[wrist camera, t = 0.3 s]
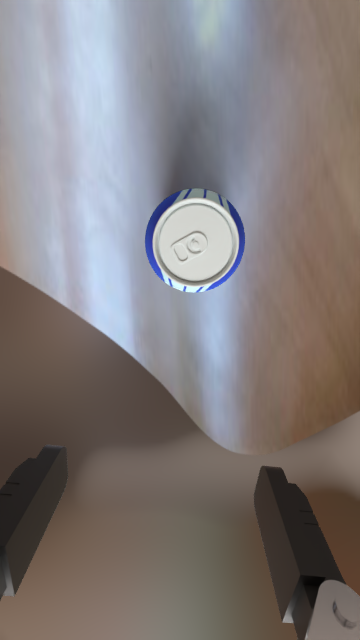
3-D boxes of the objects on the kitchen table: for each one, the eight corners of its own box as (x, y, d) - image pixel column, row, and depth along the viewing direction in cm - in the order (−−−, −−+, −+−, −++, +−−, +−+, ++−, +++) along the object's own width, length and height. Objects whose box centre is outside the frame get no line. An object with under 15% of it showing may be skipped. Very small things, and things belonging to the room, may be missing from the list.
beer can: (166, 198, 34) (149, 171, 19) (230, 212, 34) (265, 196, 19) (155, 264, 36) (133, 287, 21) (215, 276, 37) (235, 307, 21)
